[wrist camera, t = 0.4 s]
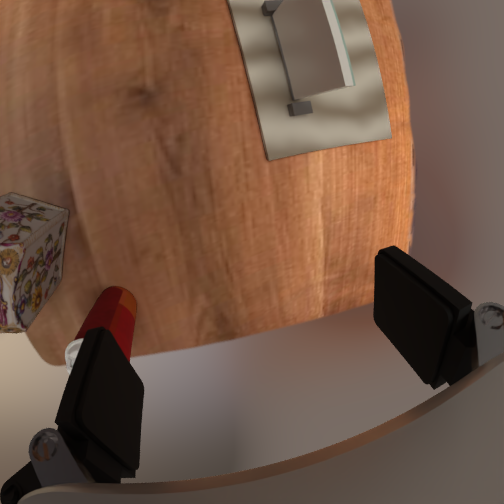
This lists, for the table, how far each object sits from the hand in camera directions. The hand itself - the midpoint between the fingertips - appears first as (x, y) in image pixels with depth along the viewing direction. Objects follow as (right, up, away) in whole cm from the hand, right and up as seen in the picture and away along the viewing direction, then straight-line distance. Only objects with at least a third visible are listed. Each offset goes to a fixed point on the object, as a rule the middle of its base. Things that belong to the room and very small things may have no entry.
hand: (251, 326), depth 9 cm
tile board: (+8, +28, +22) cm, 37 cm away
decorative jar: (-32, +5, +25) cm, 40 cm away
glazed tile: (+4, +26, +20) cm, 33 cm away
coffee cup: (-20, -5, +31) cm, 37 cm away
